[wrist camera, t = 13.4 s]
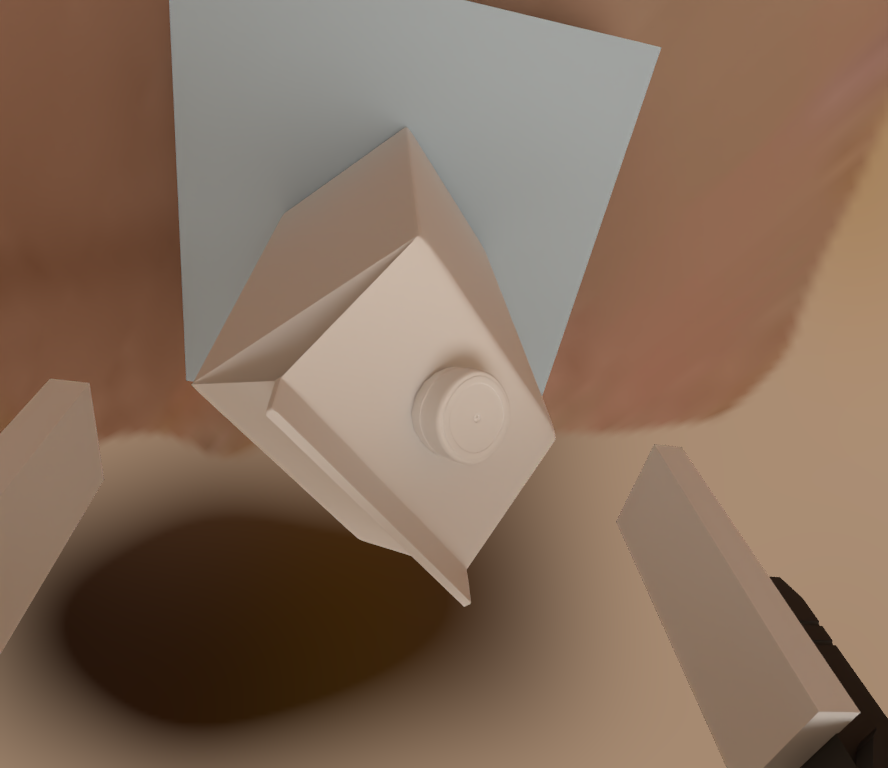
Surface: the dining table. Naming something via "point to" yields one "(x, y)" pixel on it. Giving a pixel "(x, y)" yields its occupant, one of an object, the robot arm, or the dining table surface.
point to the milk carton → (385, 365)
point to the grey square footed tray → (382, 116)
